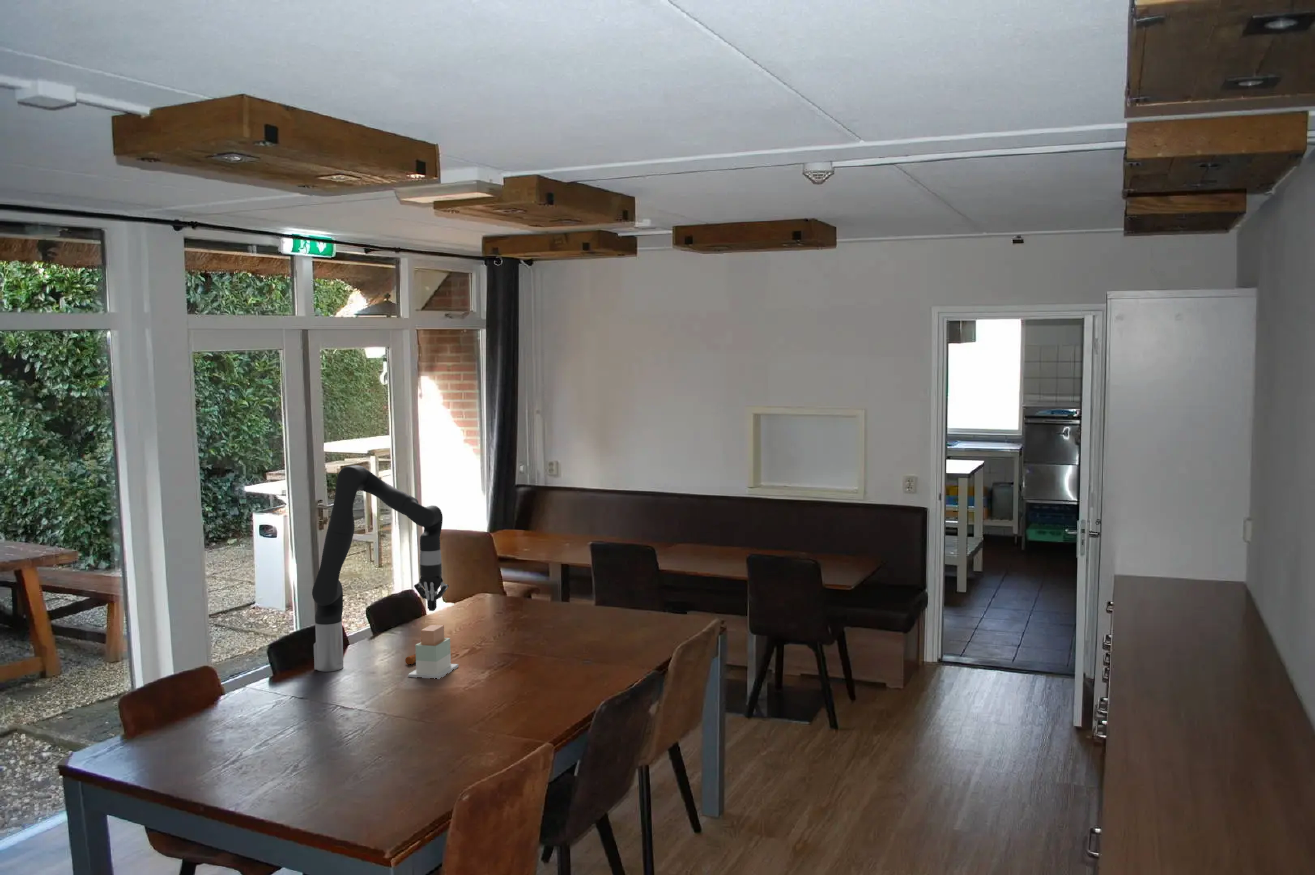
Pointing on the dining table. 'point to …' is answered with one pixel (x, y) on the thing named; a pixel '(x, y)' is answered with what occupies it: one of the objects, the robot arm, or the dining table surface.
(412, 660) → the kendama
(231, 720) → the dining table surface
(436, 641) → the brick
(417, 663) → the mint open-top box
